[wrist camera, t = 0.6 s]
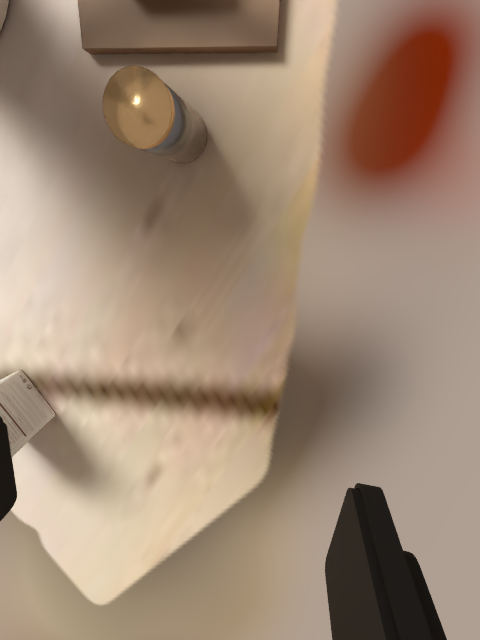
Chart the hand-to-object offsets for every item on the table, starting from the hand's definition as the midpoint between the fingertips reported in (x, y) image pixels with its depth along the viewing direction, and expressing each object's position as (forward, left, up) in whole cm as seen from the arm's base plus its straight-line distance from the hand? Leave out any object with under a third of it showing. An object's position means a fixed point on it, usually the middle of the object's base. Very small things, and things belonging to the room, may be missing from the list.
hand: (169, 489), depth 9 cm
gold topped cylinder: (-14, +4, -27) cm, 30 cm away
